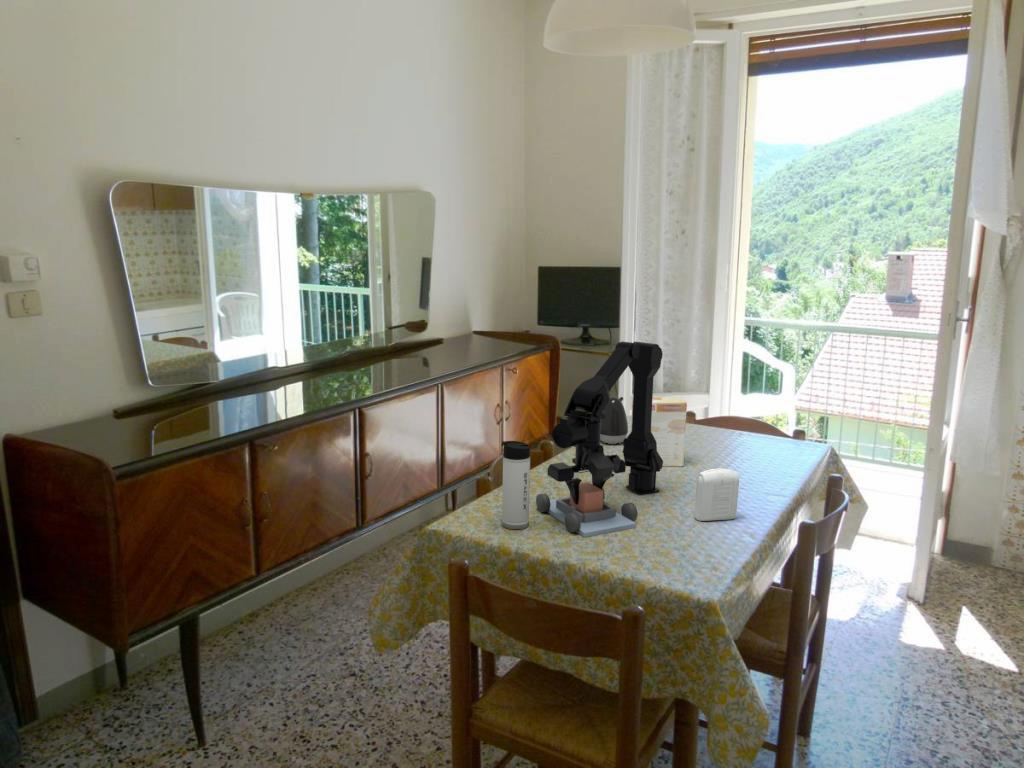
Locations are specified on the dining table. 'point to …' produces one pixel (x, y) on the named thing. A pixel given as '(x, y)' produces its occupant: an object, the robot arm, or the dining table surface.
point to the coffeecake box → (669, 429)
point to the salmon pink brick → (588, 498)
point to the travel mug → (516, 485)
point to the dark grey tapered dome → (614, 422)
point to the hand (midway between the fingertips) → (585, 502)
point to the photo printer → (716, 494)
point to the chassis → (588, 516)
